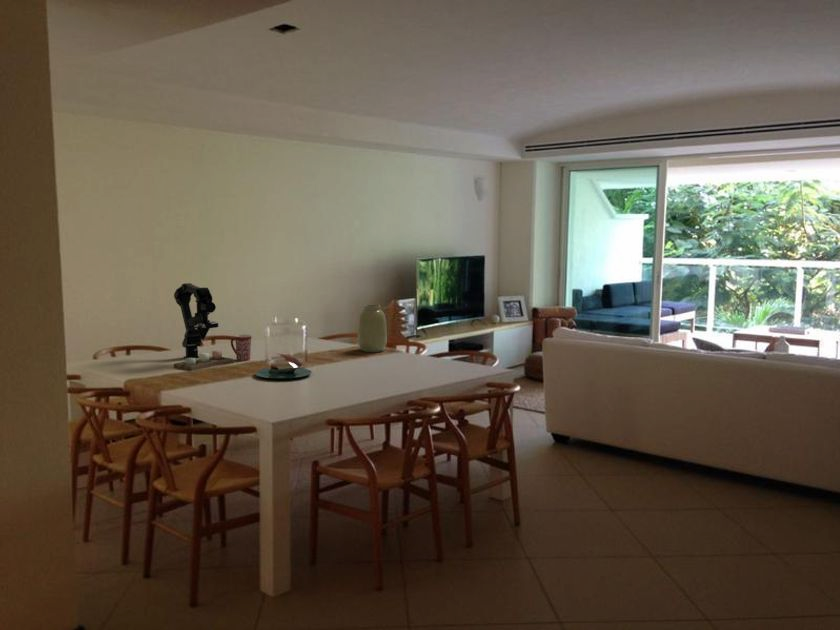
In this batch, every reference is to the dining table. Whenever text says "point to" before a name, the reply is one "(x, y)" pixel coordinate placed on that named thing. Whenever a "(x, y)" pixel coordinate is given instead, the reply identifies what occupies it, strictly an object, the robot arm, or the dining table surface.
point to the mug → (242, 347)
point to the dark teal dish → (284, 370)
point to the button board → (203, 364)
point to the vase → (372, 329)
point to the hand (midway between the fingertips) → (202, 339)
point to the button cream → (203, 357)
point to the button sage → (190, 361)
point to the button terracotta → (216, 355)
